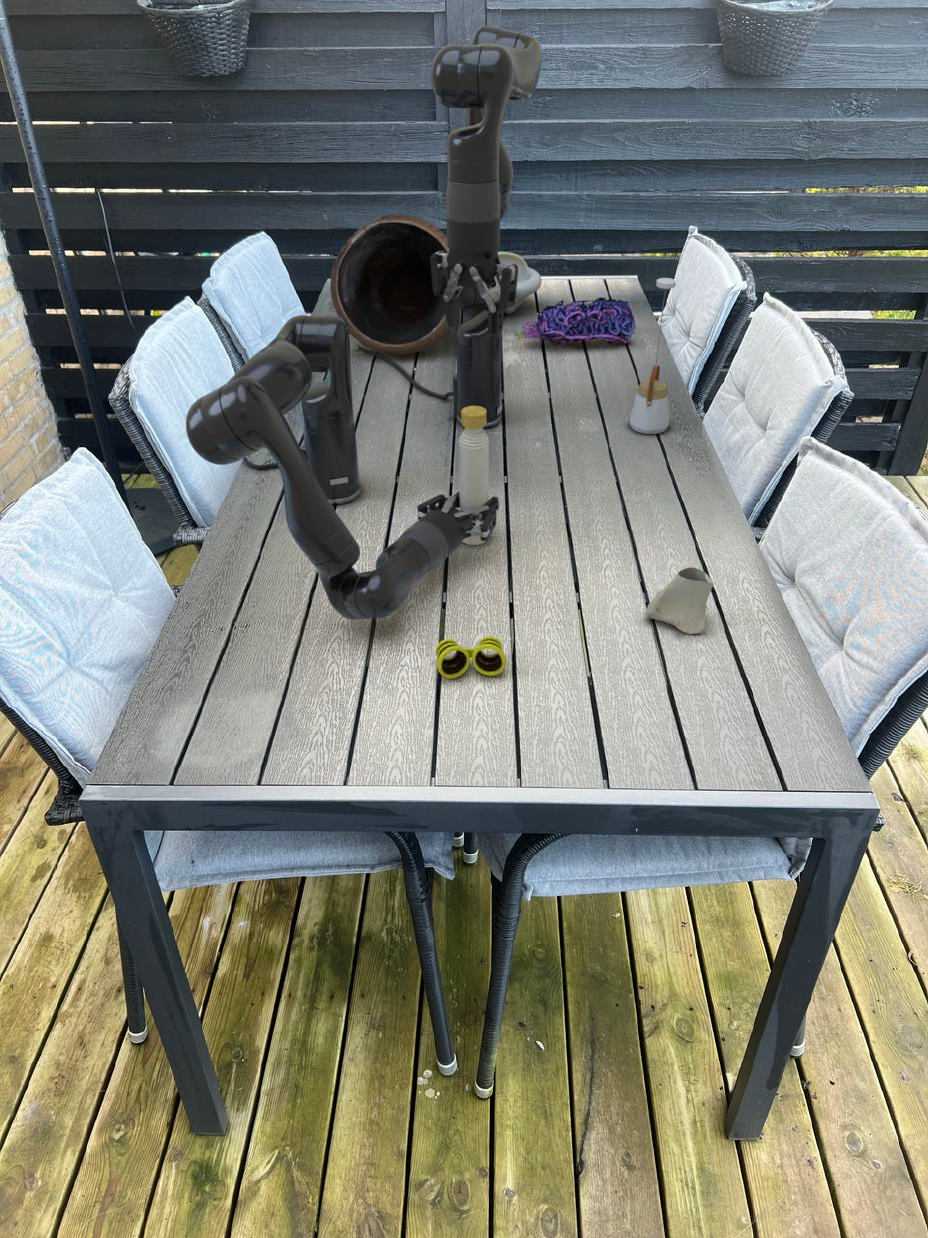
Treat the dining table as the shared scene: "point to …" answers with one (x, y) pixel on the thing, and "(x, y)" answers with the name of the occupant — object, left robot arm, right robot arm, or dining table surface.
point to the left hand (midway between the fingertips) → (481, 497)
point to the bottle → (473, 473)
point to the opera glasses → (462, 658)
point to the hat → (521, 278)
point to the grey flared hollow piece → (683, 601)
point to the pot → (391, 285)
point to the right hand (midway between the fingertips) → (473, 329)
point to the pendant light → (652, 393)
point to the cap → (473, 417)
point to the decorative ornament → (582, 322)
